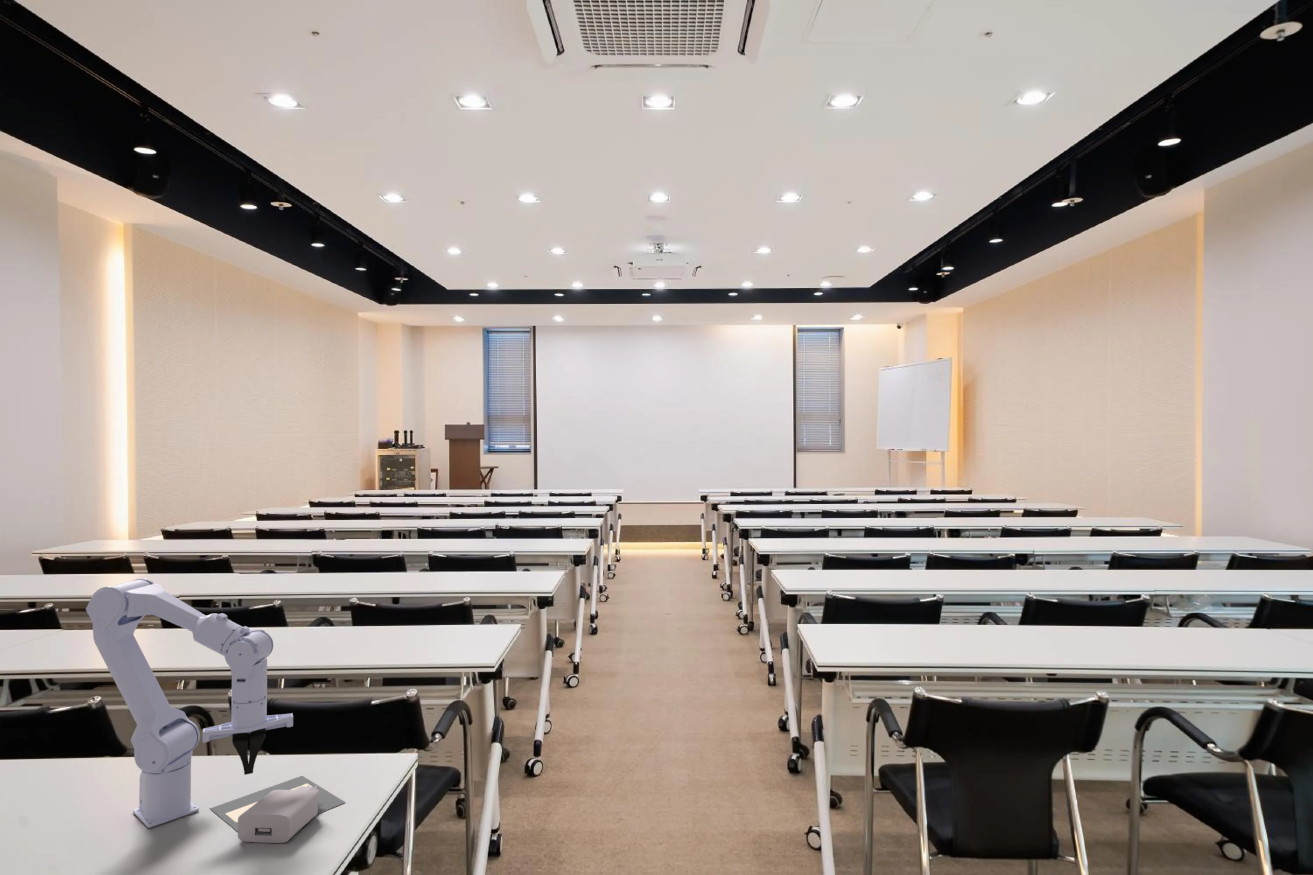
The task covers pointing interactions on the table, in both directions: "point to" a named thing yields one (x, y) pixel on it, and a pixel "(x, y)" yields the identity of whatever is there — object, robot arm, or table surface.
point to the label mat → (240, 805)
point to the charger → (278, 815)
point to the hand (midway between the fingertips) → (248, 771)
